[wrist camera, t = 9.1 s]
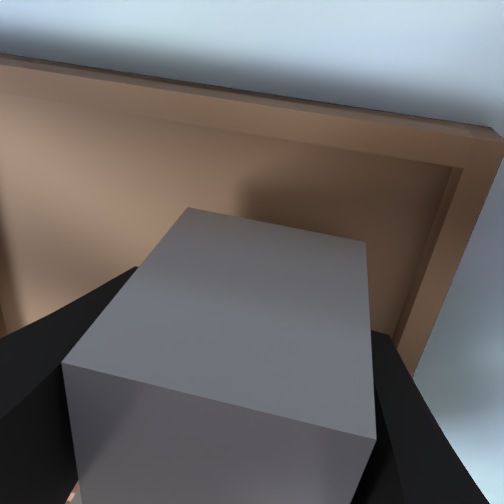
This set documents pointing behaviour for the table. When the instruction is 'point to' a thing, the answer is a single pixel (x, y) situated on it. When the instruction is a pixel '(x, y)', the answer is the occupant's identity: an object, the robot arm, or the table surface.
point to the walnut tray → (225, 184)
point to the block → (228, 371)
